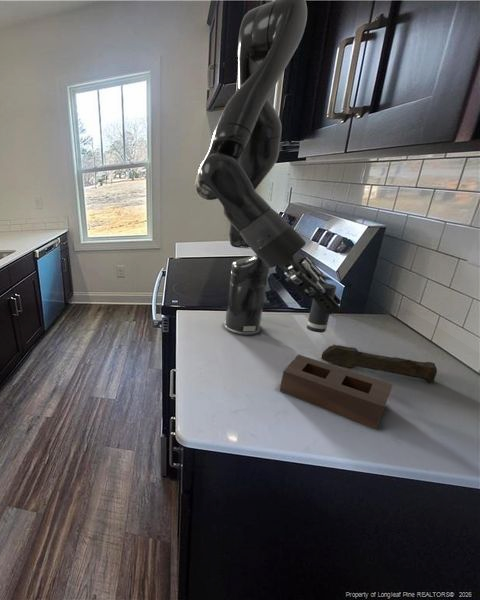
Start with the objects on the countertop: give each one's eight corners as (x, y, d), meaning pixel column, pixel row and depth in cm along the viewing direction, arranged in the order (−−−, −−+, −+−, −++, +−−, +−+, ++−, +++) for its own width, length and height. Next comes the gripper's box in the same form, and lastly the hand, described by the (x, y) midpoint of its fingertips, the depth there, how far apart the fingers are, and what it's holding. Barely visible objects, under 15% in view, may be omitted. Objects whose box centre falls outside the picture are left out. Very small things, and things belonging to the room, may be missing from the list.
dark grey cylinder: (309, 324, 64) (318, 281, 60) (327, 328, 62) (338, 285, 58) (304, 329, 62) (313, 286, 59) (323, 334, 60) (334, 289, 56)
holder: (294, 373, 72) (298, 354, 71) (385, 405, 61) (393, 383, 59) (279, 390, 67) (283, 370, 65) (376, 429, 56) (384, 406, 54)
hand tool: (427, 375, 69) (434, 357, 67) (433, 385, 66) (441, 366, 64) (320, 355, 79) (324, 338, 77) (321, 363, 75) (325, 346, 74)
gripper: (282, 230, 54) (357, 310, 51) (294, 219, 64) (357, 286, 61) (244, 257, 59) (310, 332, 56) (261, 243, 69) (318, 306, 66)
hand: (334, 307), depth 59 cm, fingers closed on dark grey cylinder, 3 cm apart
